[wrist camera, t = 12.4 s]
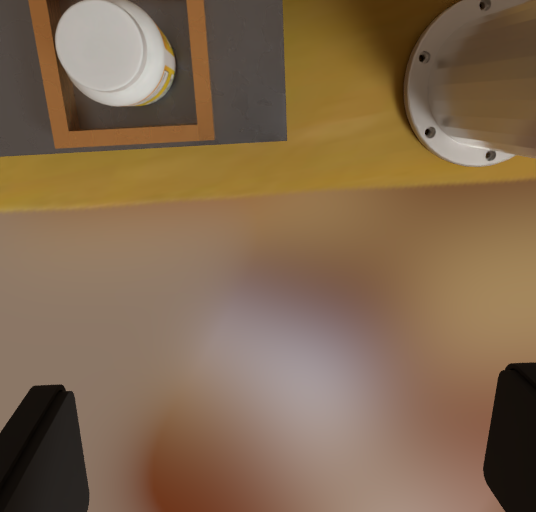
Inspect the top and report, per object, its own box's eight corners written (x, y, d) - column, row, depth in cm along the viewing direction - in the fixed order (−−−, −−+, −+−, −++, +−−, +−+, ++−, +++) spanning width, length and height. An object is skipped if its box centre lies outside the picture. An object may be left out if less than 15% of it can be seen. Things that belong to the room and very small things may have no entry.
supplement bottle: (176, 108, 32) (158, 111, 23) (94, 103, 32) (43, 104, 23) (176, 20, 31) (157, -13, 22) (90, 13, 30) (33, -24, 21)
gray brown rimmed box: (274, -23, 34) (286, -50, 28) (280, 136, 37) (291, 143, 31) (-63, -12, 32) (-130, -39, 26) (-25, 153, 36) (-76, 164, 30)
